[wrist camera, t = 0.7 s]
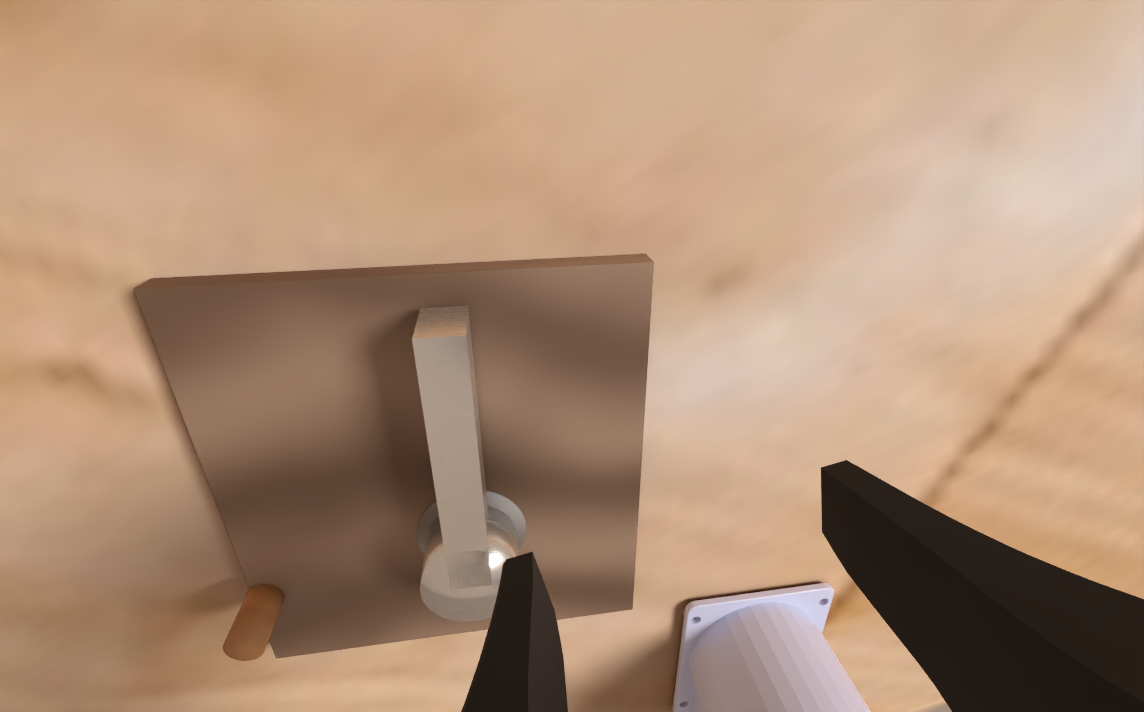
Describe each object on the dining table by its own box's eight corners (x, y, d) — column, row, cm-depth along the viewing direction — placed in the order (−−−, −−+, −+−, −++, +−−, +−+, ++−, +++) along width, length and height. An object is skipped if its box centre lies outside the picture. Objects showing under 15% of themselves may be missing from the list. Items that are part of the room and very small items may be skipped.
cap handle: (519, 565, 23) (522, 614, 21) (431, 576, 22) (427, 627, 20) (500, 303, 18) (503, 332, 15) (386, 310, 17) (373, 341, 15)
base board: (627, 592, 27) (645, 653, 24) (279, 638, 24) (251, 713, 22) (645, 253, 19) (675, 283, 16) (144, 278, 17) (74, 318, 14)
